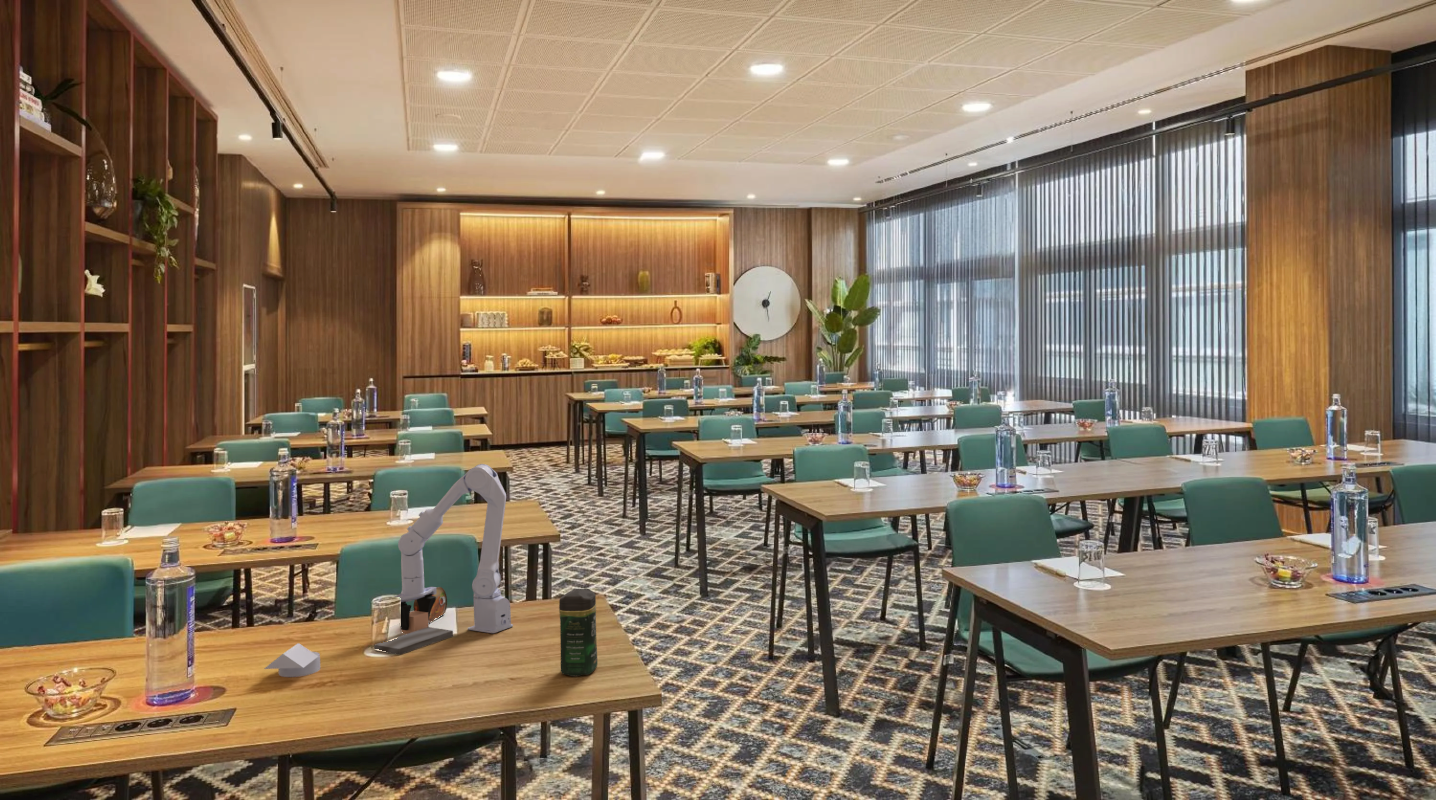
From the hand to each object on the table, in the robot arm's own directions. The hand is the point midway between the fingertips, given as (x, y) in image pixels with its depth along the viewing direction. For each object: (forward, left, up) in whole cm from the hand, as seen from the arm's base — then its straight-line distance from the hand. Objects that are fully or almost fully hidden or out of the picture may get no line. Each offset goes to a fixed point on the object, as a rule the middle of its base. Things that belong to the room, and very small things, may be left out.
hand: (414, 626), depth 261 cm
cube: (0, 0, -2) cm, 2 cm away
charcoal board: (-8, +8, -1) cm, 12 cm away
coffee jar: (-62, +8, -2) cm, 63 cm away
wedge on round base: (-2, +38, -2) cm, 38 cm away
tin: (+6, -11, -2) cm, 12 cm away
